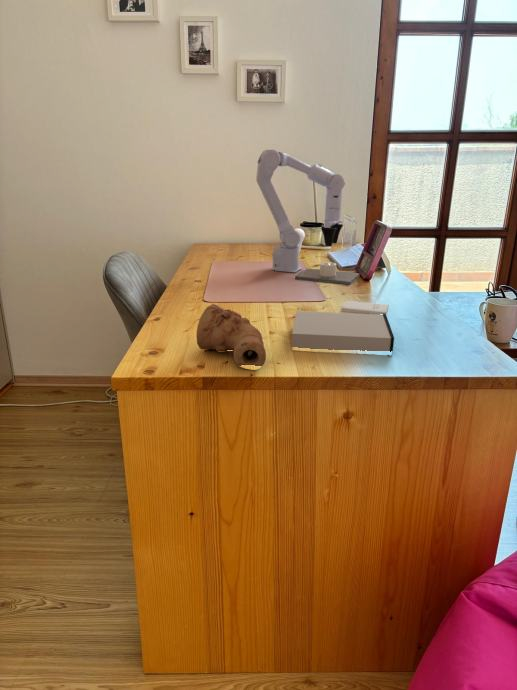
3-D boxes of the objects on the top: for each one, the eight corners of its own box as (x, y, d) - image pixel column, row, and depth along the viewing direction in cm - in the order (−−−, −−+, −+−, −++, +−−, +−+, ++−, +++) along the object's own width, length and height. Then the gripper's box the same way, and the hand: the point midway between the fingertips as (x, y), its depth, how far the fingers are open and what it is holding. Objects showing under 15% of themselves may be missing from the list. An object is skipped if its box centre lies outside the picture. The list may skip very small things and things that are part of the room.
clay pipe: (252, 355, 122) (192, 338, 120) (266, 314, 119) (205, 296, 117) (256, 387, 104) (186, 367, 102) (273, 340, 101) (201, 319, 99)
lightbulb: (304, 252, 229) (305, 227, 225) (304, 254, 223) (305, 229, 219) (290, 252, 229) (291, 227, 225) (290, 254, 224) (291, 229, 220)
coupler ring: (333, 277, 179) (334, 266, 178) (318, 275, 181) (318, 264, 180) (337, 273, 184) (338, 263, 182) (322, 272, 186) (322, 261, 184)
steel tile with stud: (295, 279, 180) (295, 264, 178) (307, 271, 192) (307, 257, 191) (350, 284, 173) (351, 269, 171) (359, 276, 185) (360, 261, 183)
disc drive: (392, 358, 112) (394, 337, 111) (291, 353, 115) (292, 332, 113) (384, 332, 129) (386, 313, 127) (295, 328, 131) (296, 309, 130)
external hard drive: (345, 305, 152) (388, 309, 148) (341, 313, 144) (385, 317, 141) (346, 300, 151) (388, 303, 147) (341, 307, 144) (386, 311, 140)
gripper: (338, 210, 180) (336, 248, 185) (348, 206, 192) (346, 242, 197) (319, 209, 183) (317, 247, 187) (330, 205, 195) (328, 241, 200)
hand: (331, 244), depth 193 cm, fingers open, 7 cm apart
